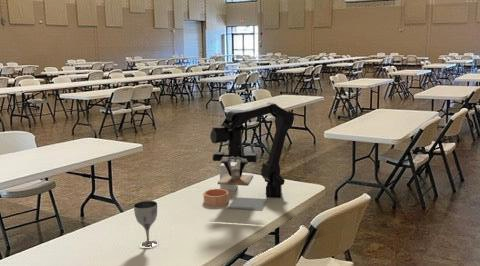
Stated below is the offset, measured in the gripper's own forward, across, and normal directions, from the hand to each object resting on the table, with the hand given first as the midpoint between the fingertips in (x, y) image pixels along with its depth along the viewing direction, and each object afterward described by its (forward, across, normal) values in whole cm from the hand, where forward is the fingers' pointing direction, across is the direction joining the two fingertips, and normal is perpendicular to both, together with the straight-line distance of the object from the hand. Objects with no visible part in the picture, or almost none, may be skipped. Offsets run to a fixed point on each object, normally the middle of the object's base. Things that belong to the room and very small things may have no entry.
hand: (235, 176), depth 200 cm
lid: (+2, 0, 0) cm, 2 cm away
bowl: (+13, +9, -1) cm, 16 cm away
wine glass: (+13, +22, +44) cm, 51 cm away
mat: (+12, -5, 0) cm, 14 cm away
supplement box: (+13, +8, -20) cm, 25 cm away
